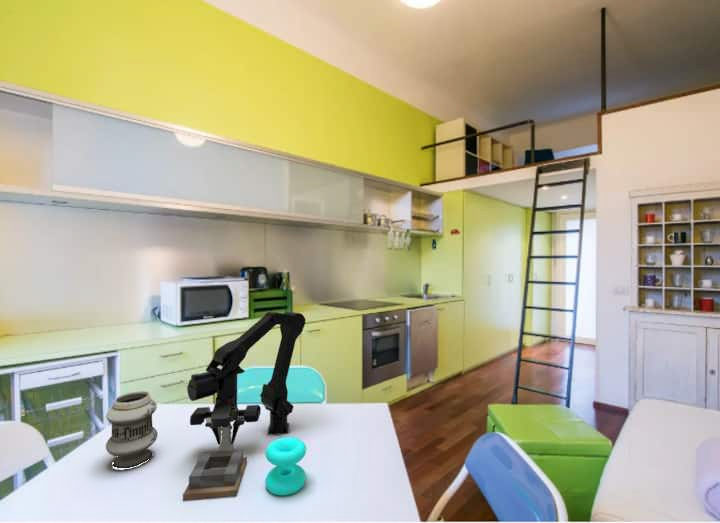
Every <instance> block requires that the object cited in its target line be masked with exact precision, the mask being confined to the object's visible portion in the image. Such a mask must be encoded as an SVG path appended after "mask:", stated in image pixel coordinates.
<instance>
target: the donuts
mask: <svg viewBox="0 0 720 523" xmlns="http://www.w3.org/2000/svg"><path fill="white" fill-rule="evenodd" d="M306 453H307V447H306V443H305V442H304V441H303V440H302V439H301V438H298V437H291V436H289V437H288V436H285V437H280V438H277V439H275V440H274V441H271V443H270V444H268V446H267V448H266V450H265V457H266V459H267V461H268V462H269V463H270V464H272V465H273V466H274V467H273V468H271V469H270V470H269V472H268V473H267V475H266V476H265V482H264V483H265V487H266V489H267V490H268V491H269V492H270V493H271V494H274V495H276V496H277V495H278V496H288V495H289V496H290V495H292V494H295V493H297V492H298V491H300V490H301V489H302V488H303V486H304V484H305V483H306V479H307V474H306V472H305V470H304V469H303V467H302V466H300V465H299V463H300V462H301V461H302V460H303V459H304V457H305V456H306Z"/></svg>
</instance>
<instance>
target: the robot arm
mask: <svg viewBox="0 0 720 523" xmlns="http://www.w3.org/2000/svg"><path fill="white" fill-rule="evenodd" d="M306 321H307V320H306V318H305V316H304V314H302V313H300V312H294V311H285V312H284V313H280V312H277V311H272V310H271V311H268V312H266V313H265V314H264V316H262V318H261V317H260V319H259V320H258V321H257V322H255V323H254V324H253V325H252V326H250V328H248V329H247V330H246V331H245V332H244V333H242V335H240V336H239V337H237V338H235V339H234V340H231V341H228V342H227V343H225V344H224V345H221V346H220V347H218V348H217V349H216V350H215V351H214V355H213V357H212V359H211V361H210V362H209V364H208V366H207V367H206V369H205V372H202V373H194V374H191V377H190V379H189V381H188V384H187V388H186V389H187V390H186V391H187V395H188V398H189V400H190V401H192V402H195V401H198V400H203V399H205V398H209V397H211V396H215V394H216V397H215V404H214V406H213V409H212V410H211V408H210V406H205V407H204V406H203V407H202V406H201V407H196V409H195V410H194V411H193V412H192V413H191V415H190V416H189V417H190V418H189V425H191V426H200V425H202V424H203V423H204V422H205V424H204V427H206V428H209V429H210V430H211V431H212V433H213V435H214V437H215V439H216V442H217V445H219V446H220V444H221V440H222V435H221V434H222V431H221V427H228V426H229V425H230V424H231V423H232V422H233V423H232V432H231V434H232V436H231V441H232V444H233V445H234V443H235V440H236V437H237V434H238V432H239V429H240V426H243V425H244V424H245V423H256V422H258V421H259V419H260V416H261V406H260V405H259V404H252V405H251V404H250V405H249V404H248V405H246V408H245V409H243V408H242V409H239V408H238V375H239V374H243V373H245V369H243V368H241V367H240V364H241V363H242V362H243V361H244V360H245V359H246V356H247V353H248V352H249V350H250V349H251V348H252V347H253V346H254V345H256V344H257V343H258V342H259V341H260V340H261V339H262V338H264V337H265V336H266V335H267V333H269V332H271V330H272V329H273V328H275V327H276V326H277V325H279V329H280V334H281V339H280V343H279V347H278V351H277V355H276V358H275V363H274V367H273V371H272V375H271V379H270V380H269V381H268V383H267V384H266V383H264V384H263V385H262V387H261V388H262V389H261V393H260V395H259V397H260V403H261V404H262V405H263V407H264V408H265V410H267V411H269V424H268V430H267V435H280V434H281V435H283V434H288V433H289V427H290V423H289V422H288V416H289V415H290V414H291V413H293V411H294V405H293V404H292V403H291V402H290V401H288V393H289V392H288V387H287V378H288V374H289V370H290V366H291V362H292V358H293V353H294V349H295V344H296V342H297V339H298V338H299V337H300V335H301V334H302V332H303V330H304V328H305V325H306ZM219 367H221V368H219Z"/></svg>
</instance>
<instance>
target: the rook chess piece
mask: <svg viewBox="0 0 720 523" xmlns="http://www.w3.org/2000/svg"><path fill="white" fill-rule="evenodd" d="M232 430H233V425H232V424H231V423H230V425H229V426H228V427H221V443H220V445H219V446H218V449H217V450H218V451H231V450H235V447H234V443H233V444H232V436H231V434H232Z"/></svg>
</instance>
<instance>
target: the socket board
mask: <svg viewBox="0 0 720 523" xmlns="http://www.w3.org/2000/svg"><path fill="white" fill-rule="evenodd" d="M247 464H248V456H244V449H237V450H236V449H234V450H231V451H219V450H218V451H217V450H216V451H203V452H202V453H201V454H200V456H199V458H198V460H197V462H196V463H195V466H193V469H192V470H191V473H190V474H189V475H188V485H187V486H186V488H185V490H184V492H183V493H182V501H183V502H184V501H185V502H186V501H195V500H197V501H199V500H209V499H219V498H234V497H235V498H236V497H237V495H238V492H239V490H240V486H241V482H242V479H243V476H244V473H245V470H246V466H247Z"/></svg>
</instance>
